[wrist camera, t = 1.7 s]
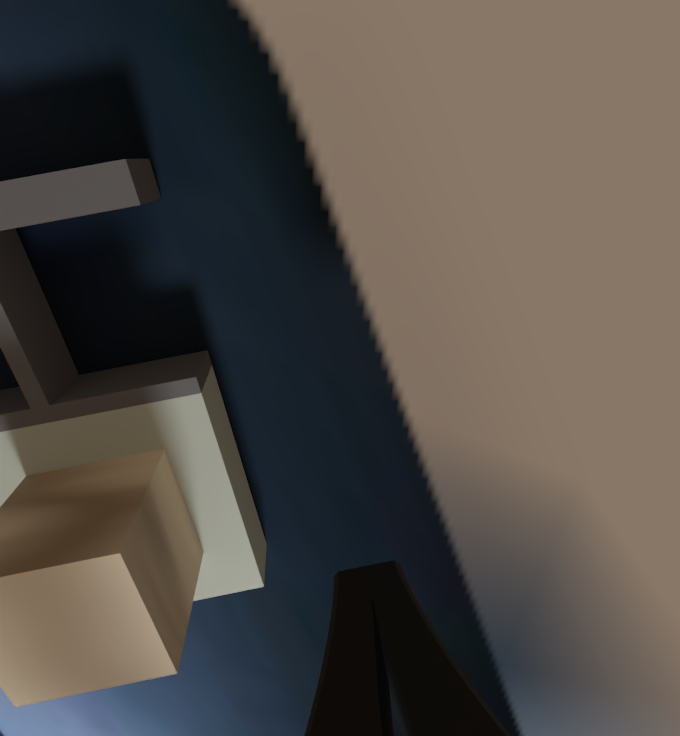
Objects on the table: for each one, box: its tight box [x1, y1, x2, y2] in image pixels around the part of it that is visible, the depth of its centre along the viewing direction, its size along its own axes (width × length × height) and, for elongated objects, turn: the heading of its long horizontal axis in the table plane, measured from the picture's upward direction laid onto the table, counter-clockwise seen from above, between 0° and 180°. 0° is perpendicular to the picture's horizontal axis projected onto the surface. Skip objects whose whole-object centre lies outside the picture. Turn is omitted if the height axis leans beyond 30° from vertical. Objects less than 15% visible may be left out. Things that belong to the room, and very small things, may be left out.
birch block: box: [0, 449, 204, 707], centre depth 13 cm, size 4×4×4 cm
